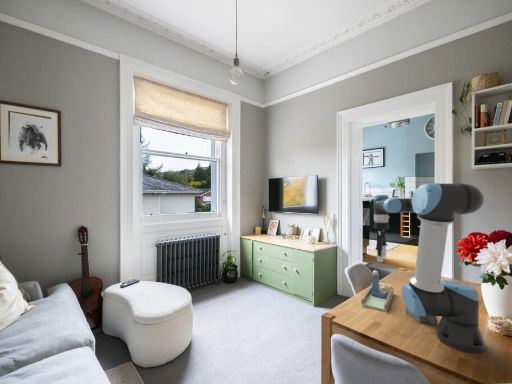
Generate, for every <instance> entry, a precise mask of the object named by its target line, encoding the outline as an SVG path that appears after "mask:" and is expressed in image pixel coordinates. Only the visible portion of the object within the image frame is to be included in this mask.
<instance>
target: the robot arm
mask: <svg viewBox="0 0 512 384" xmlns="http://www.w3.org/2000/svg"><path fill="white" fill-rule="evenodd" d="M484 197H485V196H484V195H483V192H482V191H481V190H480V189H479V188H478V187H477V186H475V185H472V184H469V183H444V182H443V183H438V182H437V183H436V182H433V183H424V184H421V185H419V186H418V187H417V188H416V189H415V190H414V192H413V194H412V197H411V198H410V197H409V198H405V197H404V198H397V197H395V198H394V197H393V198H392V197H390V198H389V195H388V194H374V196H373V221H374V222H373V228H374V229H375V230H378V231H377V232H376V246H375V248H374V249H375V250H376V261H377V263H383V262H384V260H383V259H384V258H387V247H388V244H387V238H386V234H387V233H386V230H389V228H390V226H389V225H390V224H389V218H391V217H390V216H389V213H390V214H394V213H395V214H397V213H415V214H416V218H417V219H418V220H419V221H420V227H419V237H418V243H417V251H416V262H415V268H414V275H412V276H411V277H410V278H409V283H408V284H404V285H403V286H402V288H401V296H402V299H403V302H404V305H405V306H406V307H407V309H408V310H409V311H410V312H411V313H412V314H414V315H418V316H424V317H425V316H436V317H440V320H439V322H438V324H437V325H438V326H437V328H436V337H437V339H438V340H439V341H441V342H442V343H443V344H445V345H446V346H449V347H450V348H453V349H455V350H458V351H461V352H465V353H472V354H473V353H474V354H480V353H483V352H485V350H486V349H485V347H486V346H485V345H486V344H485V340H484V338H483V335H482V333H481V332H482V331H481V330H480V326H479V324H480V323H479V321H480V320H479V310H480V309H479V307H480V306H479V303H480V299H479V292H478V291H477V289H476V288H474V287H472V286H470V285H468V284H465V283H461V282H457V281H452V280H442V279H441V278H442V271H443V265H444V257H445V252H446V244H447V236H448V230H449V225H451V224H452V223H454V222H455V217H456V215H470V214H473V213H475V212H477V211H479V210H480V209H481V207H482V206H483V205H484V202H485V199H484ZM441 280H442V281H441Z"/></svg>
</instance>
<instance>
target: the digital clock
mask: <svg viewBox="0 0 512 384" xmlns="http://www.w3.org/2000/svg"><path fill="white" fill-rule="evenodd" d="M404 309H405V313H404V314H405V315H407V316H409V317H410V318H412V319H413V320H415V321H416V322H418V323H420V324H422V323H430V324H432V325H439V320H438V316H425V317H424V316H418V315H414V314H412V313H411V312H410V311H409V310H408V309H407V307H406V305H405V308H404Z"/></svg>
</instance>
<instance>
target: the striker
mask: <svg viewBox="0 0 512 384" xmlns="http://www.w3.org/2000/svg"><path fill="white" fill-rule="evenodd" d="M371 276H372V277H371V281H372V282H371V283H372V295H373V296H377V297H382V298H386V296H387V291H384V290H379V283H380V274H379V271H378V270H373V271H372V275H371Z"/></svg>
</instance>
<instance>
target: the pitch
mask: <svg viewBox="0 0 512 384" xmlns="http://www.w3.org/2000/svg"><path fill="white" fill-rule="evenodd" d="M381 286H386V287H387V288H388V291H387V296H386V298H382V297H377V296H373V295H372V282H371V283H370V286H369V287H368V288H367V290H366V292H365V293H364V295H363V296H362V298H361V303H360V304H361V306H362V307H364V308H365V307H366V308H370V309H374V310H378V311H382V312H386V313H387V312H388V309H389V306H390V304H391V301H392V298H393V296H394V287H393V286H392V285H391V284H387V283H382V282H379V290H380V288H381Z"/></svg>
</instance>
